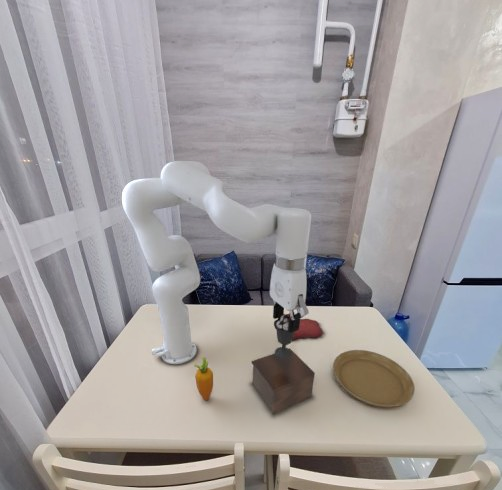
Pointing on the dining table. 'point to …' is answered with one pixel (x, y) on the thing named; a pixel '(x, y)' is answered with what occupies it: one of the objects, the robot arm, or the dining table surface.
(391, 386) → the plant saucer
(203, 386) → the carrot
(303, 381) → the container
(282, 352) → the sundae
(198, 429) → the dining table surface
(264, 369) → the brown box lid
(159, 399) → the dining table surface
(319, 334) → the patty
